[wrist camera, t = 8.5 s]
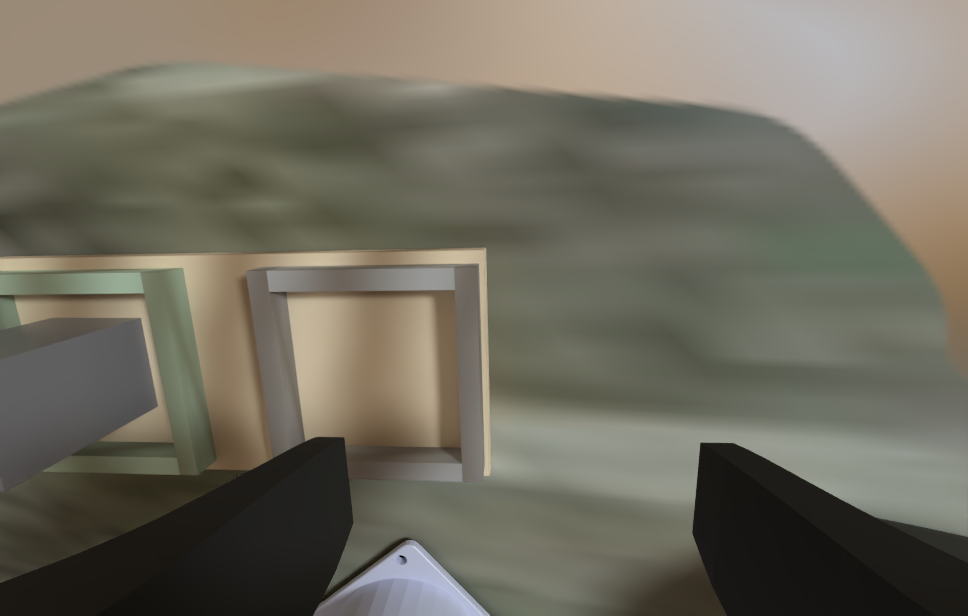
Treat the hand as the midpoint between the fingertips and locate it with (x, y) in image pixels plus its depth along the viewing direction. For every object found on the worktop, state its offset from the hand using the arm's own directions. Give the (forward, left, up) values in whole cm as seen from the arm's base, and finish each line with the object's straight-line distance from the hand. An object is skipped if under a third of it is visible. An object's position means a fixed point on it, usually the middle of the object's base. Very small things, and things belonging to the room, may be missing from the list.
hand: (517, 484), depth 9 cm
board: (-10, +7, -10) cm, 15 cm away
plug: (-14, +11, -9) cm, 20 cm away
